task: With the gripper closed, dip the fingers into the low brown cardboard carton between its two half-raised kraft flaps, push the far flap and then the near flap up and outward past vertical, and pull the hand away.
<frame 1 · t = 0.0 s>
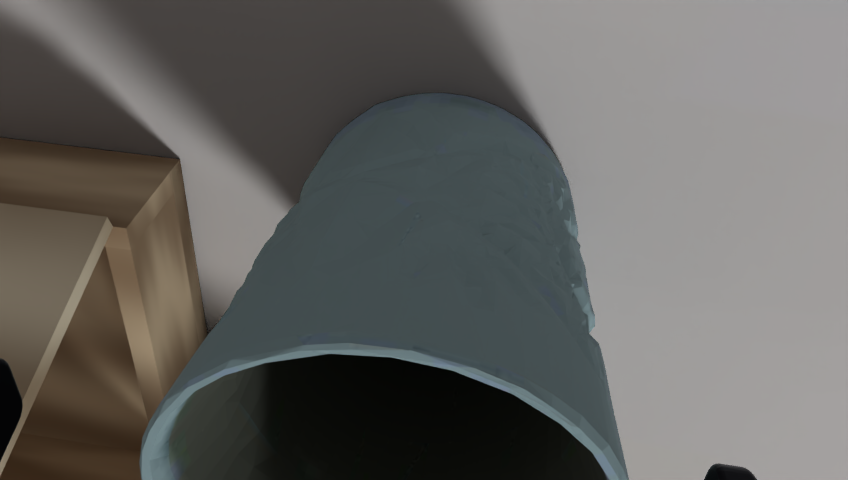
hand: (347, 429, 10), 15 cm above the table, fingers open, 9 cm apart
teal cup: (446, 200, 25), on the table
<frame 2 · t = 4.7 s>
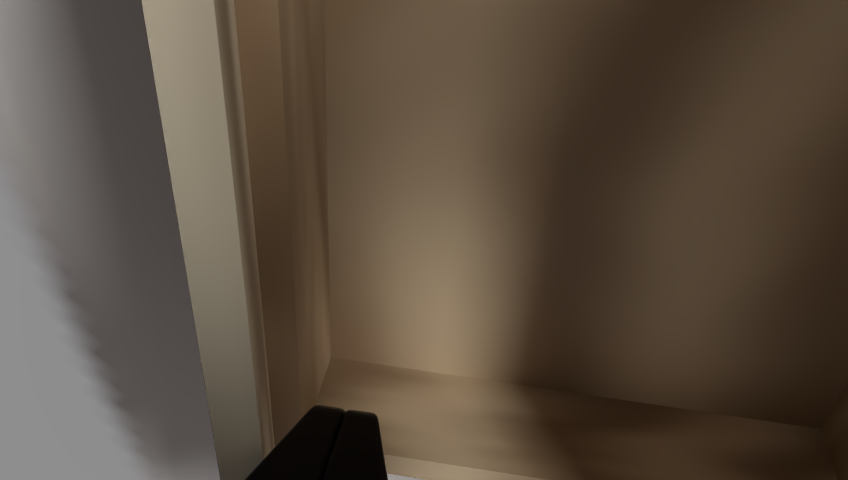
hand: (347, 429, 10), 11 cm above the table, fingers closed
carton: (638, 96, 18), on the table
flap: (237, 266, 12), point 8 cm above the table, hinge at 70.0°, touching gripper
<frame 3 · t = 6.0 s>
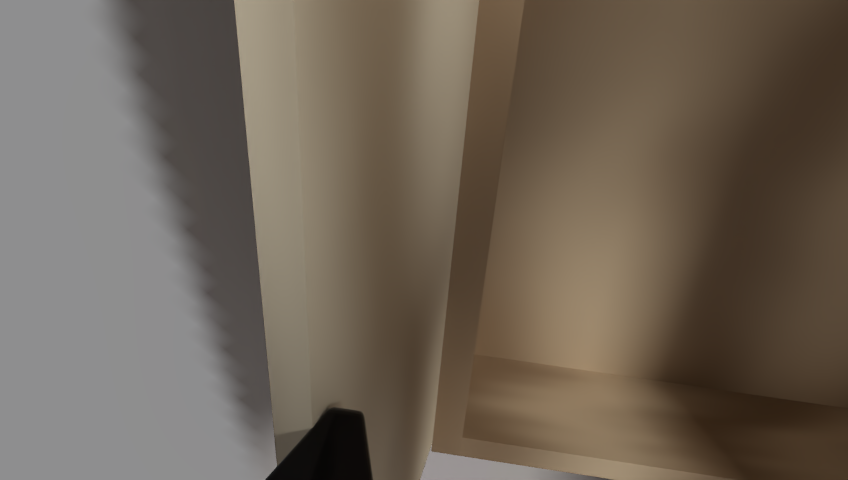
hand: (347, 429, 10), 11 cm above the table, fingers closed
carton: (819, 99, 18), on the table
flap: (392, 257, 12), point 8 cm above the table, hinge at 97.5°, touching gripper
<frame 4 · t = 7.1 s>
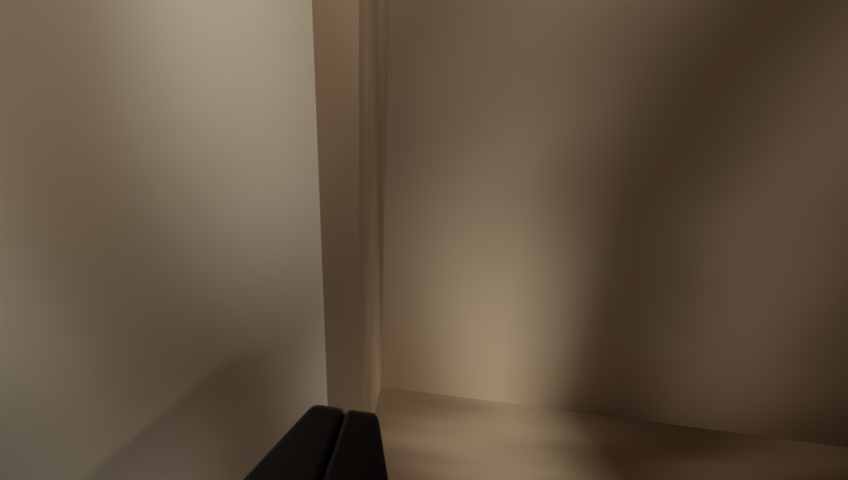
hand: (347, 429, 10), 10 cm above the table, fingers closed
carton: (703, 123, 18), on the table
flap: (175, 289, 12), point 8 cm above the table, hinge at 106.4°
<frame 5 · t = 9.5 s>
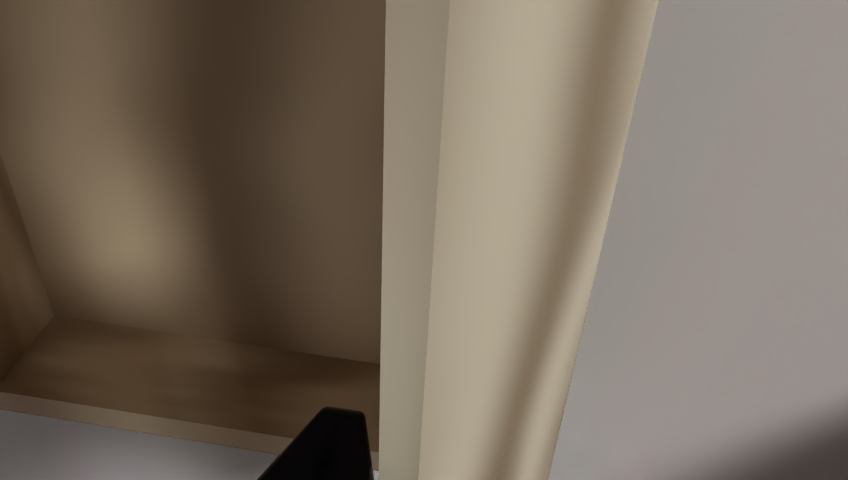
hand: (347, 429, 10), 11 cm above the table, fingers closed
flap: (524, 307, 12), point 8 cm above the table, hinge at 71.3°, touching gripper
carton: (256, 55, 19), on the table
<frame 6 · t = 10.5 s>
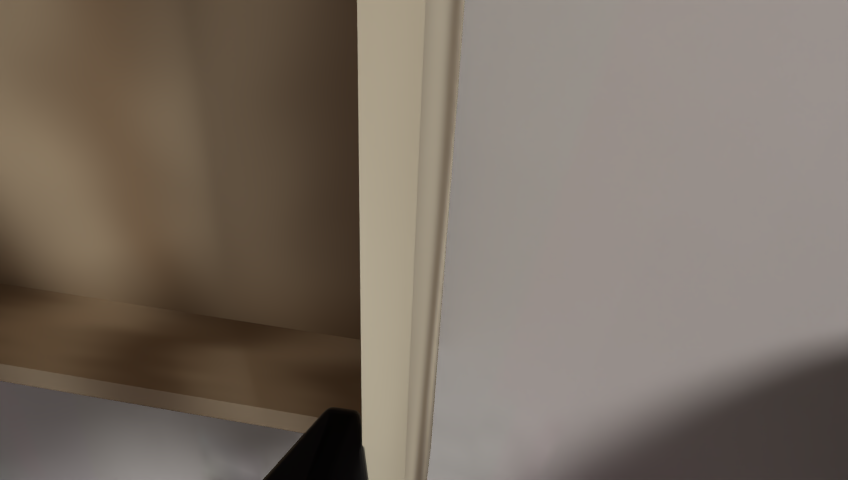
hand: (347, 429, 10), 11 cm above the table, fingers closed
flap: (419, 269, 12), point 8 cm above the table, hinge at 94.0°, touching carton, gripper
carton: (145, 25, 20), on the table
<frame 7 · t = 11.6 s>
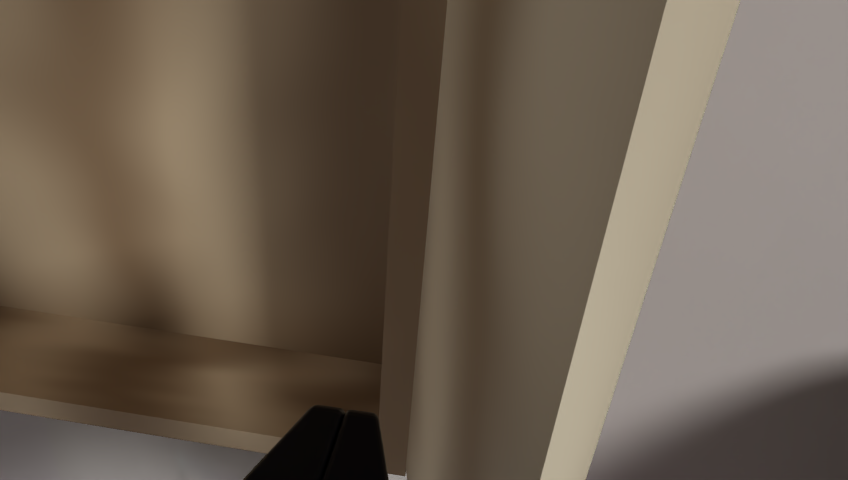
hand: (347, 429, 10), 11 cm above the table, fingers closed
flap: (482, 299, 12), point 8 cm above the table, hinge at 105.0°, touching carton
carton: (128, 34, 19), on the table
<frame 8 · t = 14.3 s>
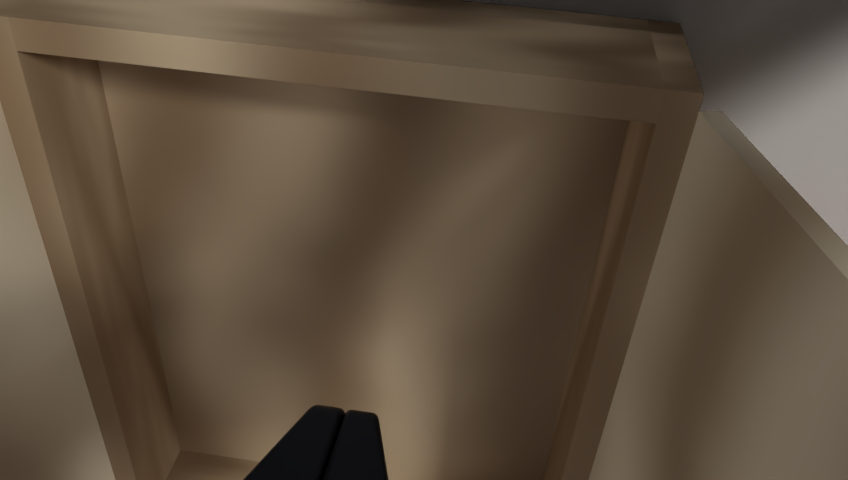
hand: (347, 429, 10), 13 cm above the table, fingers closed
carton: (360, 287, 26), on the table
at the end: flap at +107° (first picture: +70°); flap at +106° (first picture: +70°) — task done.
